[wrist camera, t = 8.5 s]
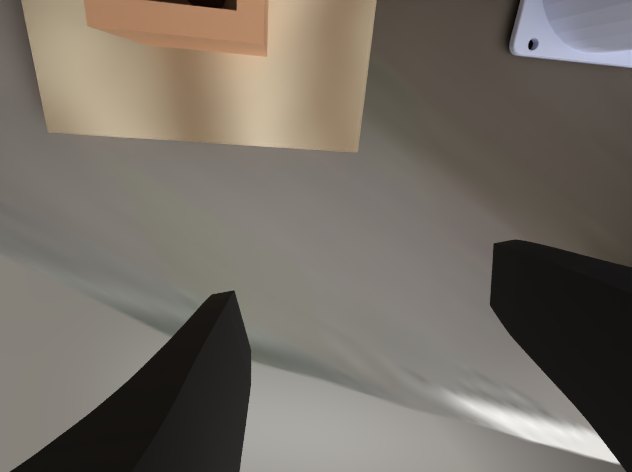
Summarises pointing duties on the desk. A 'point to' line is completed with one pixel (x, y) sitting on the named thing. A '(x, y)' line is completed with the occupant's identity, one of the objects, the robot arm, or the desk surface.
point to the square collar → (184, 24)
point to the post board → (208, 78)
